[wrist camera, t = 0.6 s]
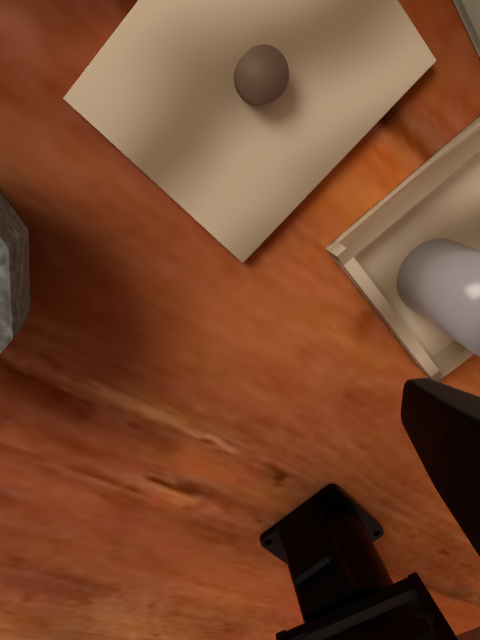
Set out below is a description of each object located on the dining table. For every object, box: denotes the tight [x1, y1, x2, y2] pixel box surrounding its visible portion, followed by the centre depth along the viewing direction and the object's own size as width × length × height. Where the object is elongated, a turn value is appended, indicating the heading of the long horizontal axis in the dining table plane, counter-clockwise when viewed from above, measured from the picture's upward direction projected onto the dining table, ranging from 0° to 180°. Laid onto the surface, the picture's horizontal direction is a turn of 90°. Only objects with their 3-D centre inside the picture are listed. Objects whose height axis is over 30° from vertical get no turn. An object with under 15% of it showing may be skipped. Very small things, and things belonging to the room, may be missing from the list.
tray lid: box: [63, 0, 436, 263], centre depth 17 cm, size 10×12×2 cm
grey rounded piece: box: [397, 238, 480, 356], centre depth 20 cm, size 4×4×6 cm
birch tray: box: [326, 116, 480, 382], centre depth 22 cm, size 10×12×2 cm
